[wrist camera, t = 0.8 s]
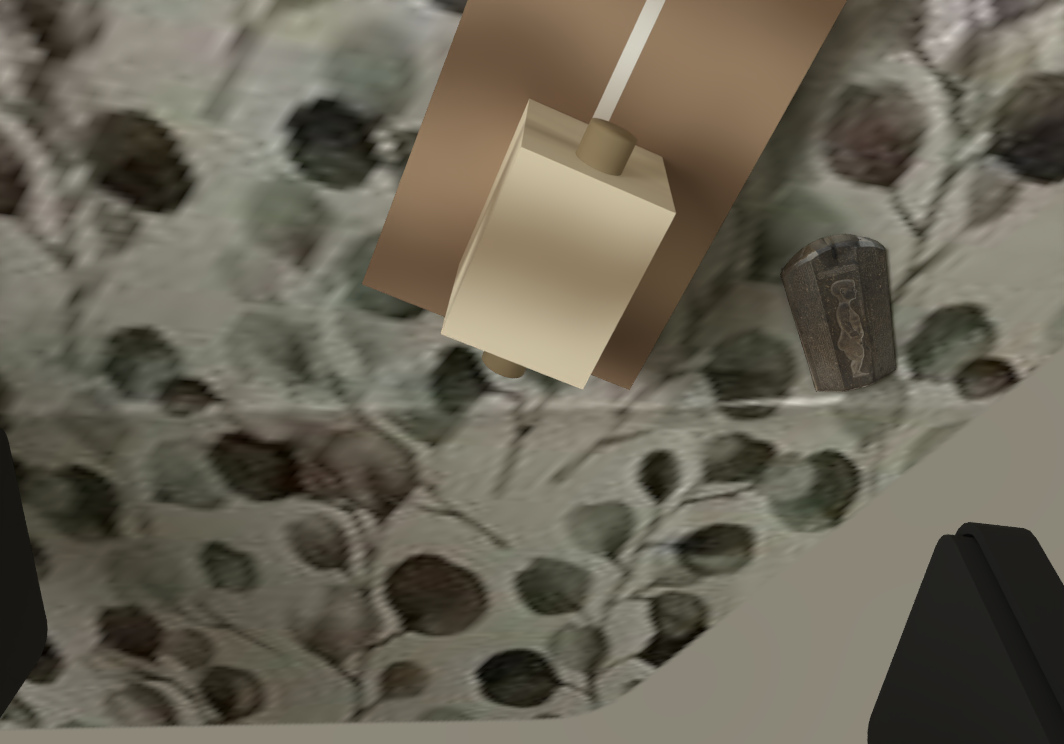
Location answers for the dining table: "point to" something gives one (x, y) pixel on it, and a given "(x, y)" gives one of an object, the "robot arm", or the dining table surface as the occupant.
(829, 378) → the block
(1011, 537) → the robot arm
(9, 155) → the dining table surface
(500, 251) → the cream knobbed box
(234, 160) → the dining table surface
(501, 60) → the board
